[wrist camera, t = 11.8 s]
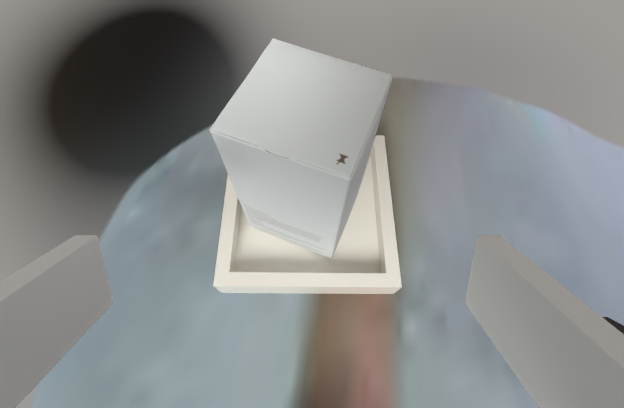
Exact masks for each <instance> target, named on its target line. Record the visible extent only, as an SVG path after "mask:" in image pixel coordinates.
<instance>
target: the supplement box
mask: <svg viewBox="0 0 624 408" xmlns="http://www.w3.org/2000/svg"><path fill="white" fill-rule="evenodd" d="M392 78H393V75H392V74H389V73H385V72H382V71H379V70H375V69H372V68H369V67H365V66H362V65H359V64H355V63H352V62H348V61H345V60H342V59H338V58H335V57H332V56H328V55H325V54H322V53H319V52H316V51H312V50H309V49H306V48H302V47H299V46H296V45H292V44H289V43H286V42H283V41H279V40H277V39H272V41H271V42H270V44H269V45H268V46H267V48H266V49H265V50H264V52H263V54H262V55H261V56H260V58H259V59H258V61H257V62H256V64H255V66H254V67H253V69H252V70H251V71H250V73H249V74H248V76H247V77H246V79H245V80H244V81H243V83H242V84H241V86H240V87H239V88H238V90H237V91H236V93H235V94H234V95H233V97H232V98H231V99H230V101H229V102H228V104H227V105H226V107H225V108H224V109H223V111H222V112H221V114H220V115H219V117H218V118H217V120H216V121H215V123H214V124H213V125H212V127H211V128H210V130H209V131H210V133H211V135H212V137H213V139H214V141H215V144H216V146H217V148H218V151H219V153H220V155H221V158H222V160H223V163H224V165H225V168H226V170H227V172H228V175H229V177H230V180H231V182H232V184H233V187H234V189H235V192H236V194H237V197H238V199H239V201H240V204H241V206H242V209H243V211H244V213H245V216H246V218H247V221H248V223H249V226H250V227H252V228H255V229H257V230H260V231H262V232H265V233H267V234H269V235H272V236H274V237H277V238H279V239H282V240H284V241H287V242H289V243H292V244H294V245H297V246H299V247H302V248H304V249H307V250H309V251H312V252H314V253H317V254H319V255H322V256H324V257H327V258H330V259H331V258H332V257H333V255H334V252H335V250H336V248H337V245H338V243H339V240H340V238H341V235H342V233H343V231H344V228H345V226H346V223H347V221H348V218H349V216H350V213H351V211H352V208H353V205H354V203H355V200H356V197H357V195H358V191H359V188H360V185H361V182H362V179H363V176H364V172H365V169H366V166H367V163H368V159H369V156H370V153H371V149H372V146H373V143H374V139H375V136H376V133H377V129H378V126H379V122H380V119H381V116H382V112H383V109H384V105H385V102H386V99H387V95H388V92H389V89H390V85H391V82H392Z"/></svg>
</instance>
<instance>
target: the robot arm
mask: <svg viewBox="0 0 624 408" xmlns="http://www.w3.org/2000/svg"><path fill="white" fill-rule="evenodd" d="M113 303H114V302H113V298H112V294H111V290H110V286H109V282H108V277H107V273H106V269H105V265H104V261H103V257H102V253H101V249H100V245H99V241H98V237H97V235H96V236H95V235H94V236H92V235H87V236H85V235H83V236H82V235H81V236H80V235H78V236H76V235H75V236H74V237H72V238H70V239H69V240H67V241H66V242H64V243H62V244H61V245H59V246H57V247H56V248H54V249H53V250H51V251H49V252H48V253H46V254H45V255H43V256H41V257H40V258H38V259H37V260H35V261H33V262H32V263H30V264H29V265H27V266H25V267H24V268H22V269H20V270H19V271H17V272H16V273H14V274H13V275H11V276H9V277H8V278H6V279H4V280H3V281H1V282H0V408H16V407H17V406H18V405H19V403H20V402H21V401H22V400H23V399H24V398H25V397H26V396H27V395H28V394H29V393H30V392H31V391H32V390H33V388H34V387H35V386H36V385H37V384H38V383H39V382H40V381H41V380H42V379H43V378H44V377H45V376H46V374H47V373H48V372H49V371H50V370H51V369H52V368H53V367H54V366H55V365H56V364H57V363H58V362H59V361H60V359H61V358H62V357H63V356H64V355H65V354H66V353H67V352H68V351H69V350H70V349H71V348H72V347H73V345H74V344H75V343H76V342H77V341H78V340H79V339H80V338H81V337H82V336H83V335H84V334H85V333H86V332H87V330H88V329H89V328H90V327H91V326H92V325H93V324H94V323H95V322H96V321H97V320H98V319H99V318H100V316H101V315H102V314H103V313H104V312H105V311H106V310H107V309H108V308H109V307H110V306H111V305H112V304H113ZM465 303H466V305H467V306H468V308H469V309H470V310H471V312H472V313H473V315H474V316H475V318H476V319H477V320H478V322H479V323H480V325H481V326H482V328H483V329H484V330H485V332H486V333H487V335H488V336H489V338H490V339H491V340H492V342H493V343H494V345H495V346H496V348H497V349H498V350H499V352H500V353H501V355H502V356H503V358H504V359H505V360H506V362H507V363H508V365H509V366H510V368H511V369H512V371H513V372H514V373H515V375H516V376H517V378H518V379H519V381H520V382H521V383H522V385H523V386H524V388H525V389H526V391H527V392H528V393H529V395H530V396H531V398H532V399H533V401H534V402H535V403H536V405H537V406H538V408H624V326H623V325H621V324H619V323H617V322H616V321H614V320H612V319H610V318H608V317H601V316H600V315H599V314H598V313H596V312H595V311H594V310H593V309H591V308H590V307H589V306H588V305H586V304H585V303H584V302H583V301H581V300H580V299H579V298H578V297H576V296H575V295H574V294H573V293H571V292H570V291H569V290H568V289H566V288H565V287H564V286H563V285H561V284H560V283H559V282H558V281H556V280H555V279H554V278H553V277H551V276H550V275H549V274H548V273H546V272H545V271H544V270H543V269H541V268H540V267H539V266H538V265H536V264H535V263H534V262H533V261H531V260H530V259H529V258H528V257H526V256H525V255H524V254H523V253H521V252H520V251H519V250H518V249H516V248H515V247H514V246H513V245H511V244H510V243H509V242H508V241H506V240H505V239H504V238H503V237H501V236H500V235H477V241H476V246H475V252H474V257H473V263H472V268H471V274H470V279H469V285H468V290H467V296H466V301H465Z"/></svg>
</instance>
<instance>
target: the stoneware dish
mask: <svg viewBox="0 0 624 408" xmlns="http://www.w3.org/2000/svg"><path fill="white" fill-rule="evenodd" d="M213 286H214V287H215V288H216V289H217V290H219V291H220V292H221V293H328V294H394V293H395V292H396V291H398V290H399V289H400V288H402V286H401V277H400V269H399V260H398V251H397V242H396V234H395V225H394V216H393V208H392V199H391V190H390V182H389V173H388V164H387V155H386V147H385V138H384V136H380V135H376V136H375V139H374V143H373V146H372V149H371V153H370V156H369V159H368V163H367V166H366V169H365V172H364V176H363V179H362V182H361V185H360V188H359V191H358V195H357V197H356V200H355V203H354V205H353V208H352V211H351V213H350V216H349V218H348V221H347V223H346V226H345V228H344V231H343V233H342V235H341V238H340V240H339V243H338V245H337V248H336V250H335V252H334V255H333V257H332V258H331V259H330V258H327V257H324V256H322V255H319V254H317V253H314V252H312V251H309V250H307V249H304V248H302V247H299V246H297V245H294V244H292V243H289V242H287V241H284V240H282V239H279V238H277V237H274V236H272V235H269V234H267V233H265V232H262V231H260V230H257V229H255V228H252V227H250V226H249V223H248V221H247V218H246V216H245V213H244V211H243V209H242V206H241V204H240V201H239V199H238V197H237V194H236V192H235V189H234V187H233V184H232V182H231V180H230V177H229V175H228V178H227V186H226V193H225V201H224V209H223V216H222V224H221V231H220V239H219V247H218V254H217V262H216V270H215V277H214V285H213Z"/></svg>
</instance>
